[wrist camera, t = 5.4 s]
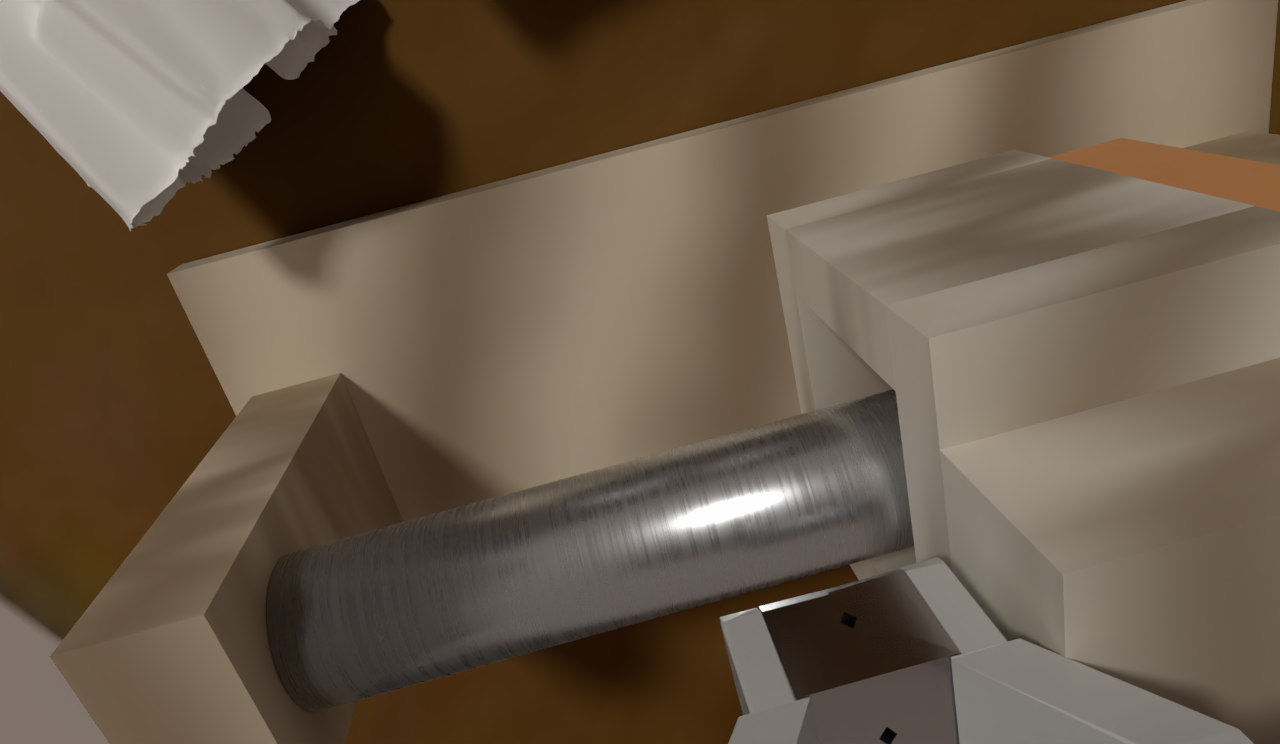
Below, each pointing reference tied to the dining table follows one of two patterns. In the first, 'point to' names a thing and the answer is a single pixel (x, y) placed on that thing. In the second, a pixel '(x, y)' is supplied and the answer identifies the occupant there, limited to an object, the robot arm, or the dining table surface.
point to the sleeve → (1069, 406)
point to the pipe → (589, 553)
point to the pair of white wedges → (152, 83)
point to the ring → (1185, 170)
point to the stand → (564, 334)
